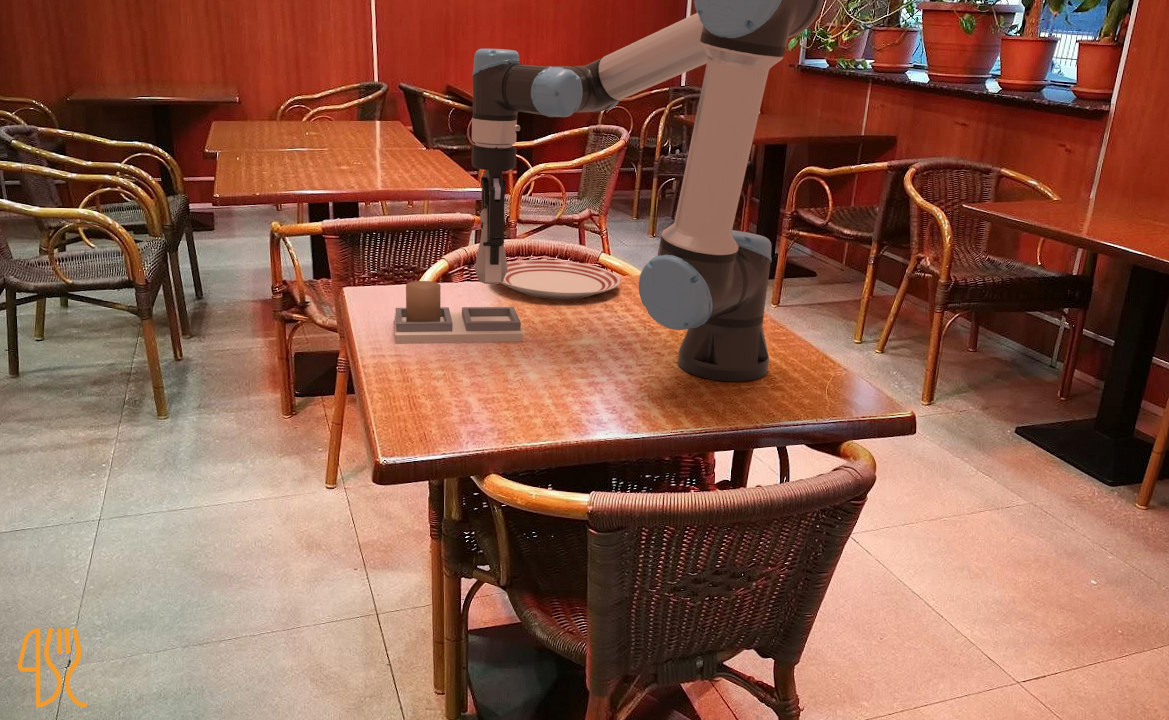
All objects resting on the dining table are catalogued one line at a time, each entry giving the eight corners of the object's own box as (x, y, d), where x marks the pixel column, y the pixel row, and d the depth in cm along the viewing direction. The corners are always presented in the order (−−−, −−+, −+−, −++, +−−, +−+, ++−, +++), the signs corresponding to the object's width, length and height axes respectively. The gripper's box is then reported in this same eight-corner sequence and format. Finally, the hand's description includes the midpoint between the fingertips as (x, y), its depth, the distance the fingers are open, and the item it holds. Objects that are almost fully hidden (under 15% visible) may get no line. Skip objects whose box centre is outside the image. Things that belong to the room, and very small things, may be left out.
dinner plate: (595, 270, 218) (596, 256, 217) (638, 303, 194) (639, 288, 193) (478, 274, 210) (478, 259, 209) (508, 309, 185) (508, 293, 184)
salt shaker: (470, 277, 170) (471, 206, 166) (500, 276, 172) (502, 205, 168) (481, 286, 165) (482, 212, 161) (511, 284, 167) (514, 211, 163)
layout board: (522, 341, 167) (524, 295, 164) (395, 343, 162) (394, 295, 159) (513, 319, 179) (514, 275, 176) (394, 320, 174) (393, 275, 171)
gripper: (523, 153, 153) (519, 291, 161) (509, 138, 170) (505, 263, 178) (477, 151, 151) (474, 291, 159) (467, 136, 168) (465, 263, 176)
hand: (491, 276), depth 168 cm, fingers closed on salt shaker, 6 cm apart
